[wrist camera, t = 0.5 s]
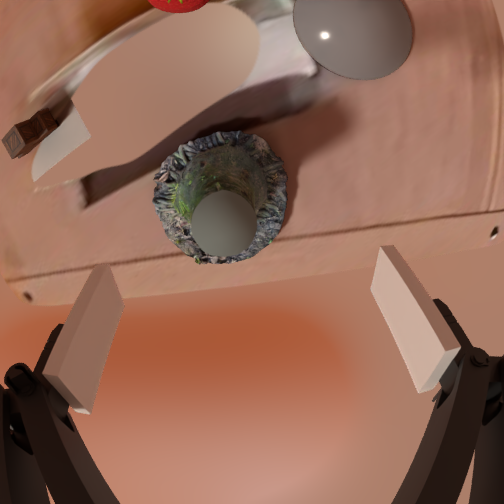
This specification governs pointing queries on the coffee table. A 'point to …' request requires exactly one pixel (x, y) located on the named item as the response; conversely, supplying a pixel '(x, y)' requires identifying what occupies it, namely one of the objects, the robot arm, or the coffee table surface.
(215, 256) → the tree stump
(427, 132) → the coffee table surface
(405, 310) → the robot arm
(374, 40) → the slate plate
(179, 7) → the strawberry
